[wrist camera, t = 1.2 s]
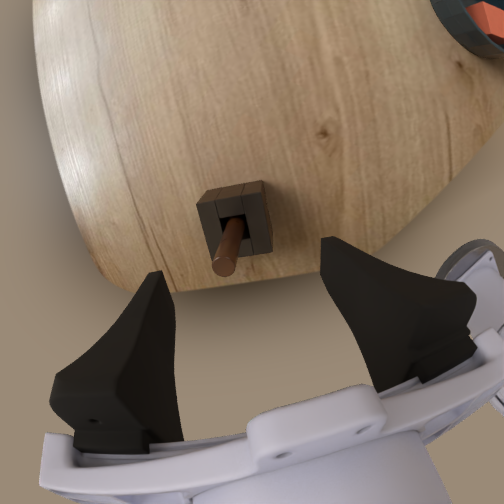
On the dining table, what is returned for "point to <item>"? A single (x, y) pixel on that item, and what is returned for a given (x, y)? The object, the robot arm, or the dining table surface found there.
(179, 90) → the dining table surface
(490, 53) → the bowl
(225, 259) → the brown cylindrical rod
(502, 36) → the block
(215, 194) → the stand
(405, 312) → the robot arm
